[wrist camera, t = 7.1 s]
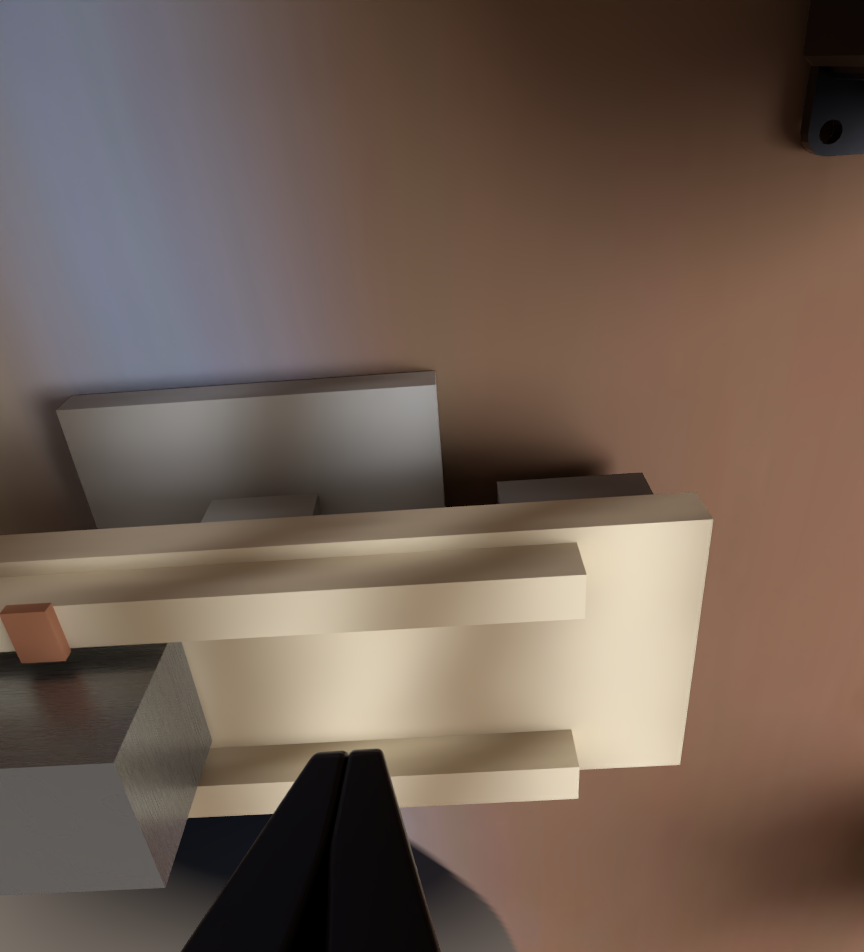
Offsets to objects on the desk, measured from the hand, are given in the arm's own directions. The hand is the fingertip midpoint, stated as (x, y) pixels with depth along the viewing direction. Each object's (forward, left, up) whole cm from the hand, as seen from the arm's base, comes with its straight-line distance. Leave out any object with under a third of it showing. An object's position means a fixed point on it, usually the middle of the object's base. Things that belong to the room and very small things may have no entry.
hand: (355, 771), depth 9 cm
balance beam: (+4, +6, -13) cm, 14 cm away
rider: (+8, +6, -8) cm, 12 cm away
